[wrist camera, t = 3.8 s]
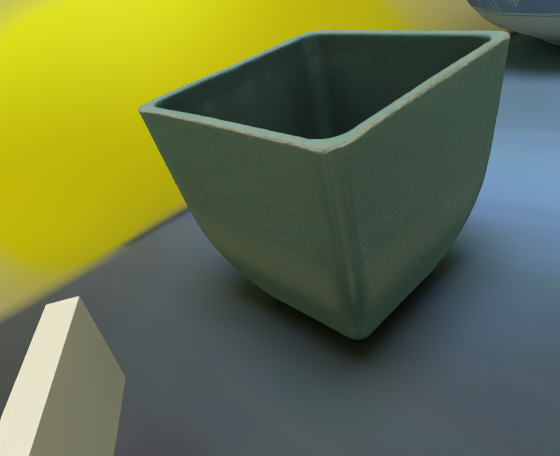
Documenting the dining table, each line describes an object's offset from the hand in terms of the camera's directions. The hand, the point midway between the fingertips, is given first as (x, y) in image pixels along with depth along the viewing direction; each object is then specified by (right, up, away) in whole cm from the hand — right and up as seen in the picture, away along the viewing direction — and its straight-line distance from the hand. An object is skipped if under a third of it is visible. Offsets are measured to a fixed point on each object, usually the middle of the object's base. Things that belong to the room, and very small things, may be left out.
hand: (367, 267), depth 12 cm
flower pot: (+1, -2, +9) cm, 9 cm away
